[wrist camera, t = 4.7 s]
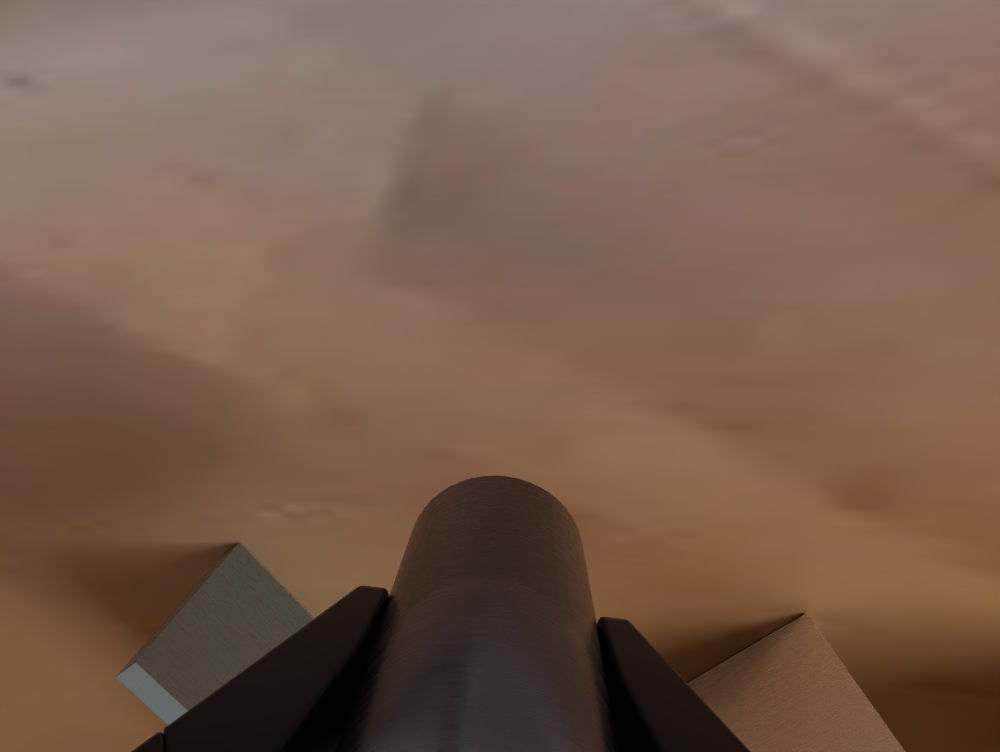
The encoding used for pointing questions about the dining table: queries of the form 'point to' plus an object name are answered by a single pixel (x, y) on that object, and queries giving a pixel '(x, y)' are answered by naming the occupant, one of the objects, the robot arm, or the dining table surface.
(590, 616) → the hinge pin
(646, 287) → the dining table surface
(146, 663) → the hinge fixture
